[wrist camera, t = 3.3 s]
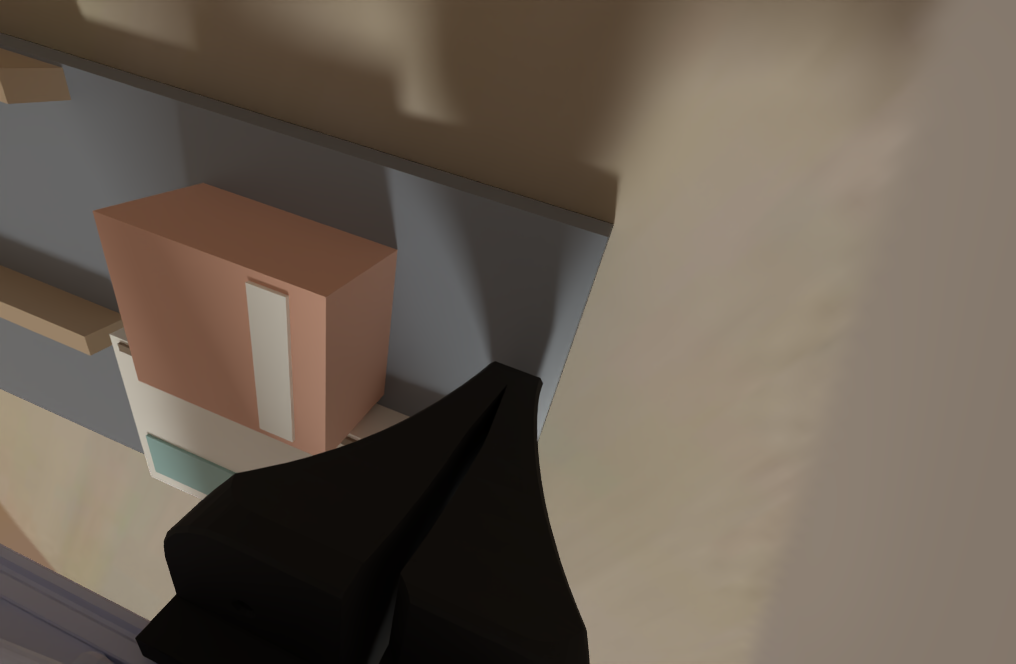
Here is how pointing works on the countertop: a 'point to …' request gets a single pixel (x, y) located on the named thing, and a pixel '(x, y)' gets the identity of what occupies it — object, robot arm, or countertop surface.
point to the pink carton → (252, 311)
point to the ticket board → (278, 183)
